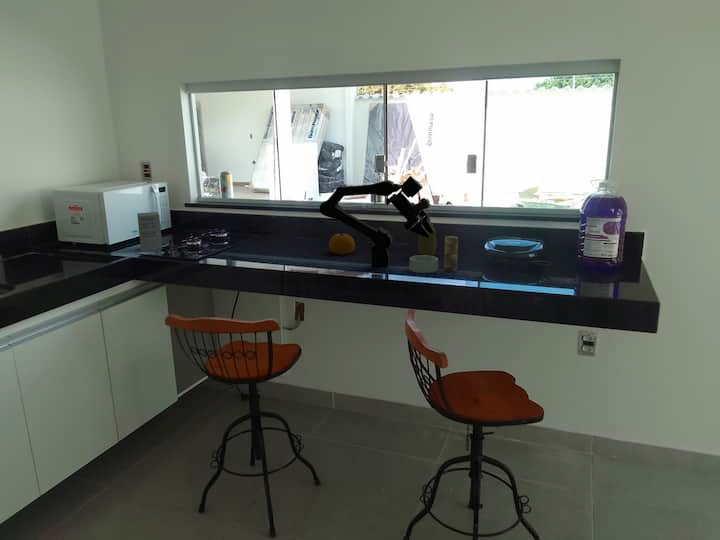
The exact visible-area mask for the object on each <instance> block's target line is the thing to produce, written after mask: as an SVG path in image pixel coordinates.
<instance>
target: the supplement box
mask: <svg viewBox="0 0 720 540" xmlns="http://www.w3.org/2000/svg"><path fill="white" fill-rule="evenodd" d="M136 215H137V225H138V233H139V241H140V249H141V252H142V251H146V252H152V251H151V250H156V251H160V250H159V249H163V241H162V237H163V236H162V233H161V232H162V231H161V219H160V218H161V217H160V214H159V212H157V211H152V212H138V213H137V214H136ZM163 250H164V249H163Z"/></svg>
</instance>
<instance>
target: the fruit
mask: <svg viewBox="0 0 720 540" xmlns="http://www.w3.org/2000/svg"><path fill="white" fill-rule="evenodd" d="M328 247H329V251H330V252H332V254H335V255H339V256H341V255H349V254H351V253H353V251H354V250H355V247H356V243H355V240H354V238H353V237H352V236H351V235H350V234H348V233H343V231H341V233H336V234H333V236H331V238H330V239H329V242H328Z"/></svg>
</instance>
